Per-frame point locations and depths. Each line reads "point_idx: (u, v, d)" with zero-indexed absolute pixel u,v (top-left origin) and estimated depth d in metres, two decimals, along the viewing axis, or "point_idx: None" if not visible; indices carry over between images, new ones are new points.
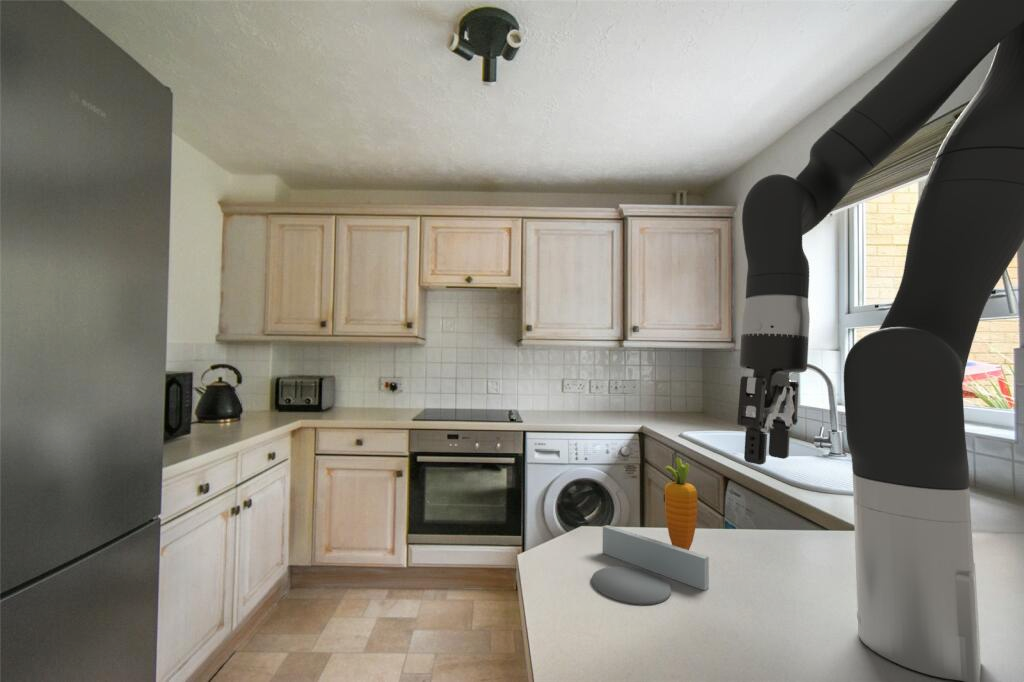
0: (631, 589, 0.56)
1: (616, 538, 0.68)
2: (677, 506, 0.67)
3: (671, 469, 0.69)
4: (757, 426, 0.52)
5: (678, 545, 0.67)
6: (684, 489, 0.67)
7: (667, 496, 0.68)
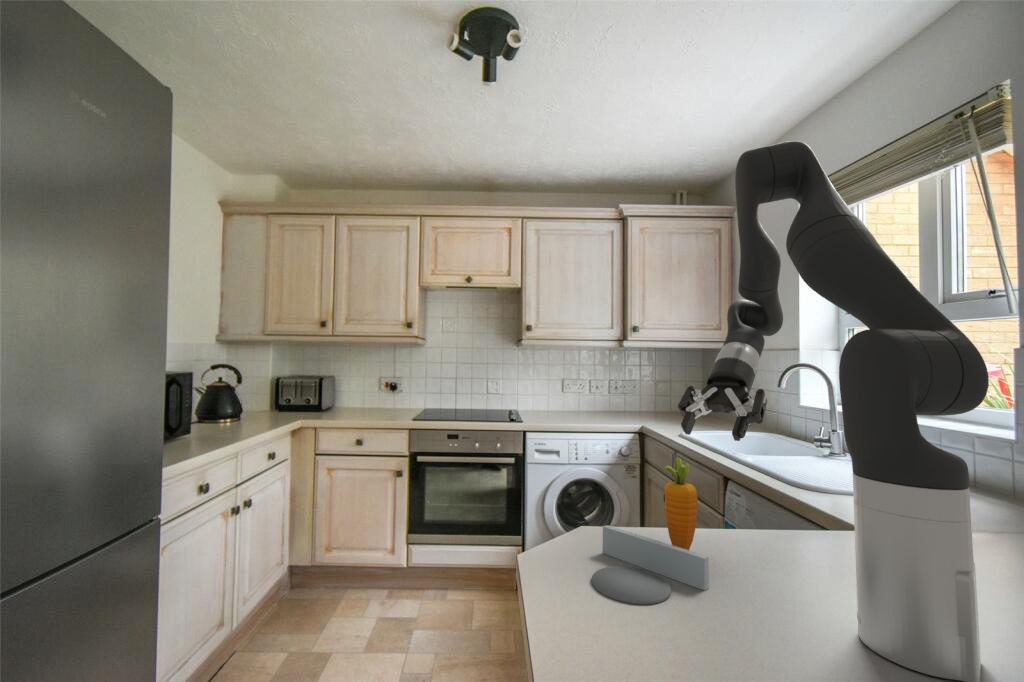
0: (631, 589, 0.56)
1: (616, 538, 0.68)
2: (677, 506, 0.67)
3: (671, 469, 0.69)
4: (678, 407, 0.85)
5: (678, 545, 0.67)
6: (684, 489, 0.67)
7: (667, 496, 0.68)
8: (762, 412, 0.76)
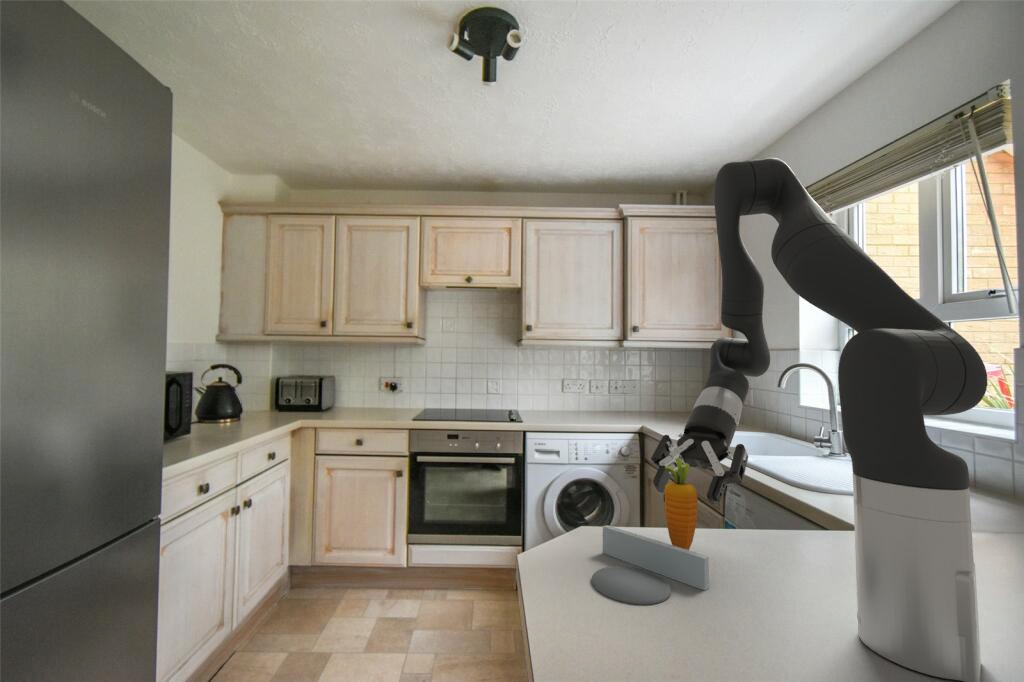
0: (631, 589, 0.56)
1: (616, 538, 0.68)
2: (677, 506, 0.67)
3: (671, 469, 0.69)
4: None
5: (678, 545, 0.67)
6: (684, 489, 0.67)
7: (667, 496, 0.68)
8: (742, 471, 0.68)
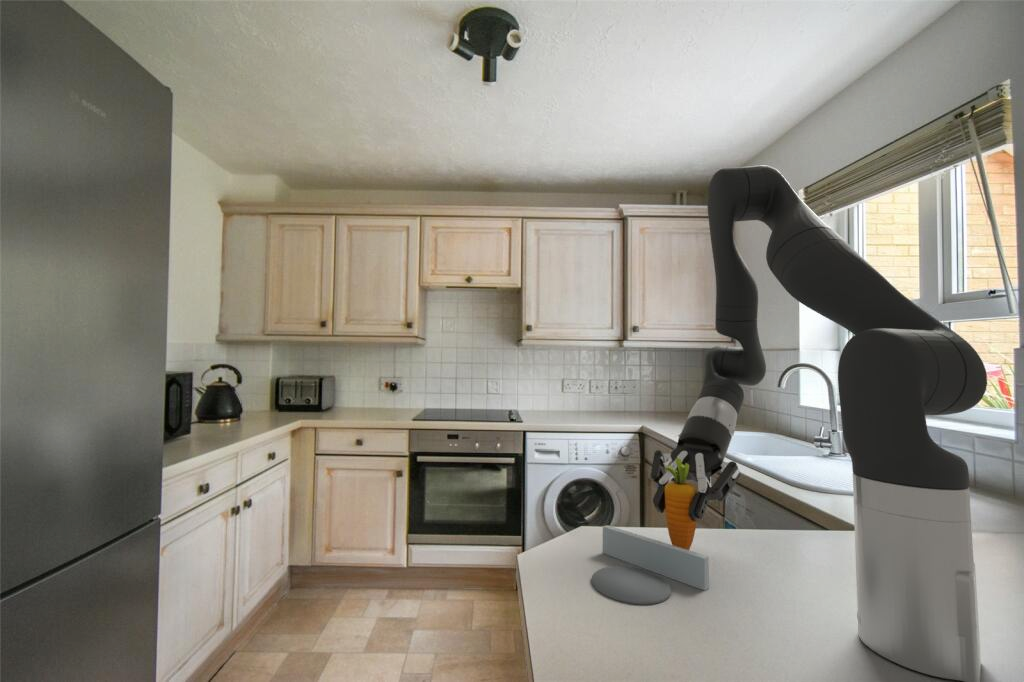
0: (631, 589, 0.56)
1: (616, 538, 0.68)
2: (677, 506, 0.67)
3: (671, 469, 0.69)
4: (651, 477, 0.73)
5: (678, 545, 0.67)
6: (684, 489, 0.67)
7: (667, 496, 0.68)
8: (727, 489, 0.67)
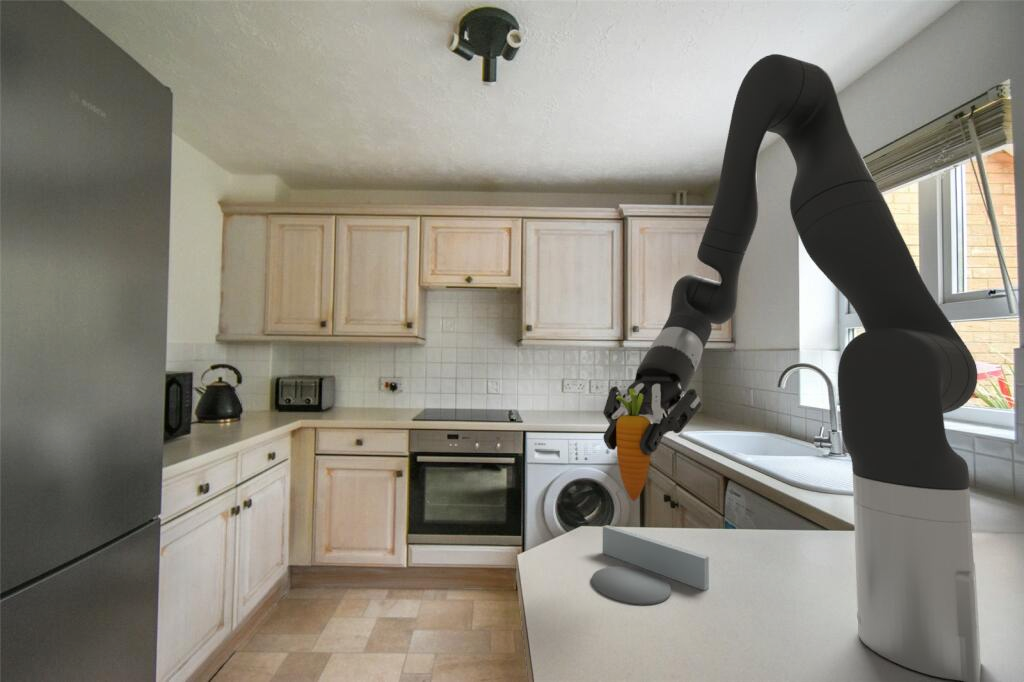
0: (631, 589, 0.56)
1: (616, 538, 0.68)
2: (628, 439, 0.59)
3: (622, 399, 0.61)
4: (604, 414, 0.65)
5: (630, 484, 0.59)
6: (635, 420, 0.59)
7: (618, 429, 0.60)
8: (685, 419, 0.59)
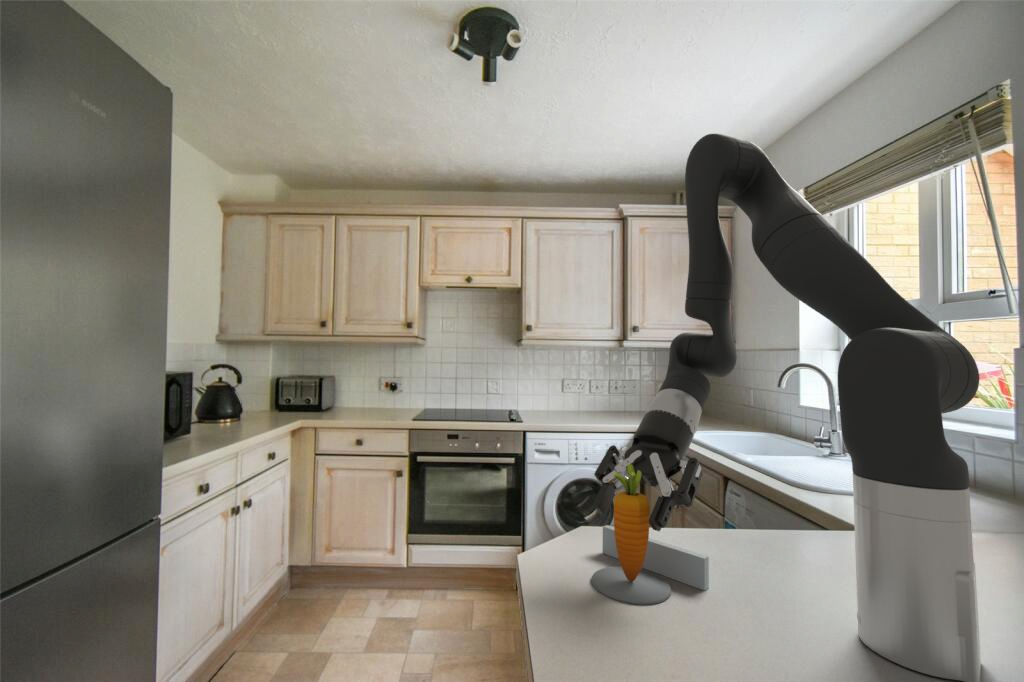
0: (631, 589, 0.56)
1: None
2: (626, 521, 0.57)
3: (620, 477, 0.59)
4: (595, 475, 0.65)
5: (627, 566, 0.58)
6: (633, 501, 0.58)
7: (615, 509, 0.59)
8: (693, 490, 0.57)
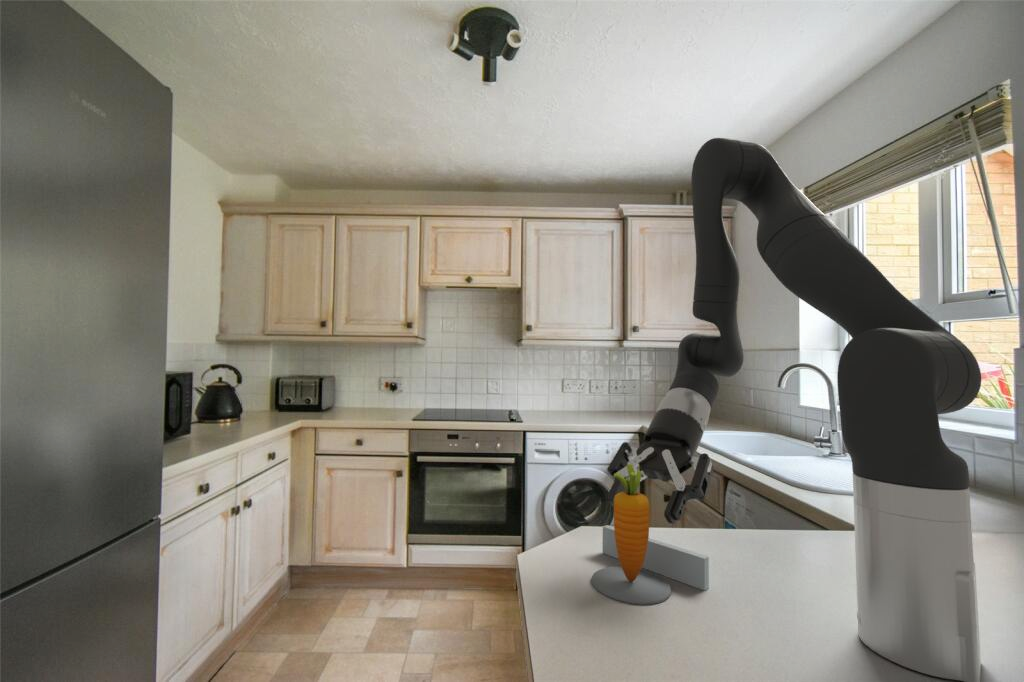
0: (631, 589, 0.56)
1: None
2: (626, 521, 0.57)
3: (620, 477, 0.59)
4: (607, 470, 0.68)
5: (627, 566, 0.58)
6: (633, 501, 0.58)
7: (615, 508, 0.59)
8: (705, 485, 0.60)
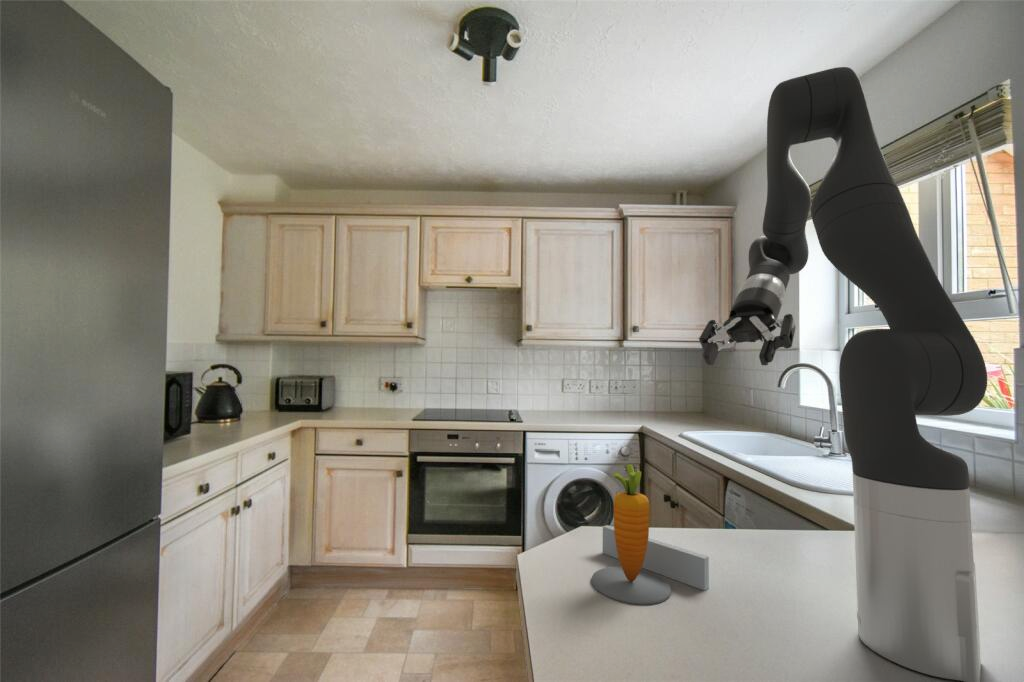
0: (631, 589, 0.56)
1: None
2: (626, 521, 0.57)
3: (620, 477, 0.59)
4: (699, 340, 0.80)
5: (627, 566, 0.58)
6: (633, 501, 0.58)
7: (615, 509, 0.59)
8: (791, 337, 0.72)
